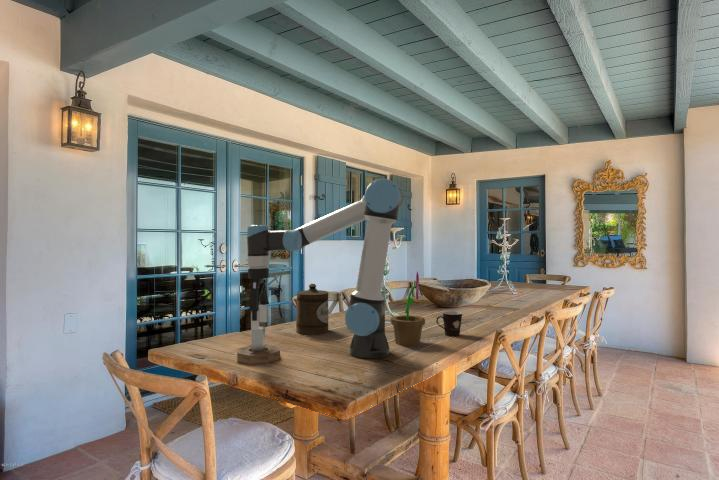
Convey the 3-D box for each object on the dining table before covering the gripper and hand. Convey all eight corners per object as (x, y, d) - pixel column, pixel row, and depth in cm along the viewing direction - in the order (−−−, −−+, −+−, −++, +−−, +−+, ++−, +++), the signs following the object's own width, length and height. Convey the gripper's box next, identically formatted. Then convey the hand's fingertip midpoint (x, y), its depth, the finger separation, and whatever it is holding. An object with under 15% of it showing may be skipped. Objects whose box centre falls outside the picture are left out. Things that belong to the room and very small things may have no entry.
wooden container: (326, 334, 202) (326, 285, 202) (293, 334, 203) (293, 285, 202) (329, 327, 217) (329, 282, 217) (298, 327, 217) (298, 281, 217)
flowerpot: (423, 348, 180) (424, 272, 179) (388, 346, 183) (388, 272, 182) (425, 339, 194) (426, 269, 193) (392, 338, 197) (392, 269, 196)
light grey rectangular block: (265, 356, 168) (265, 326, 167) (262, 359, 164) (262, 328, 163) (254, 356, 168) (254, 326, 167) (251, 359, 164) (251, 328, 163)
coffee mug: (460, 333, 207) (460, 311, 207) (463, 337, 198) (463, 314, 198) (435, 332, 208) (435, 310, 208) (436, 336, 199) (436, 314, 199)
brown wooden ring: (287, 355, 168) (287, 347, 168) (259, 366, 155) (259, 357, 155) (257, 350, 176) (257, 342, 176) (228, 359, 163) (228, 351, 163)
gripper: (255, 265, 177) (256, 319, 178) (239, 270, 152) (240, 333, 153) (275, 264, 177) (276, 318, 178) (261, 270, 152) (262, 333, 153)
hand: (259, 325), depth 165 cm, fingers open, 13 cm apart
